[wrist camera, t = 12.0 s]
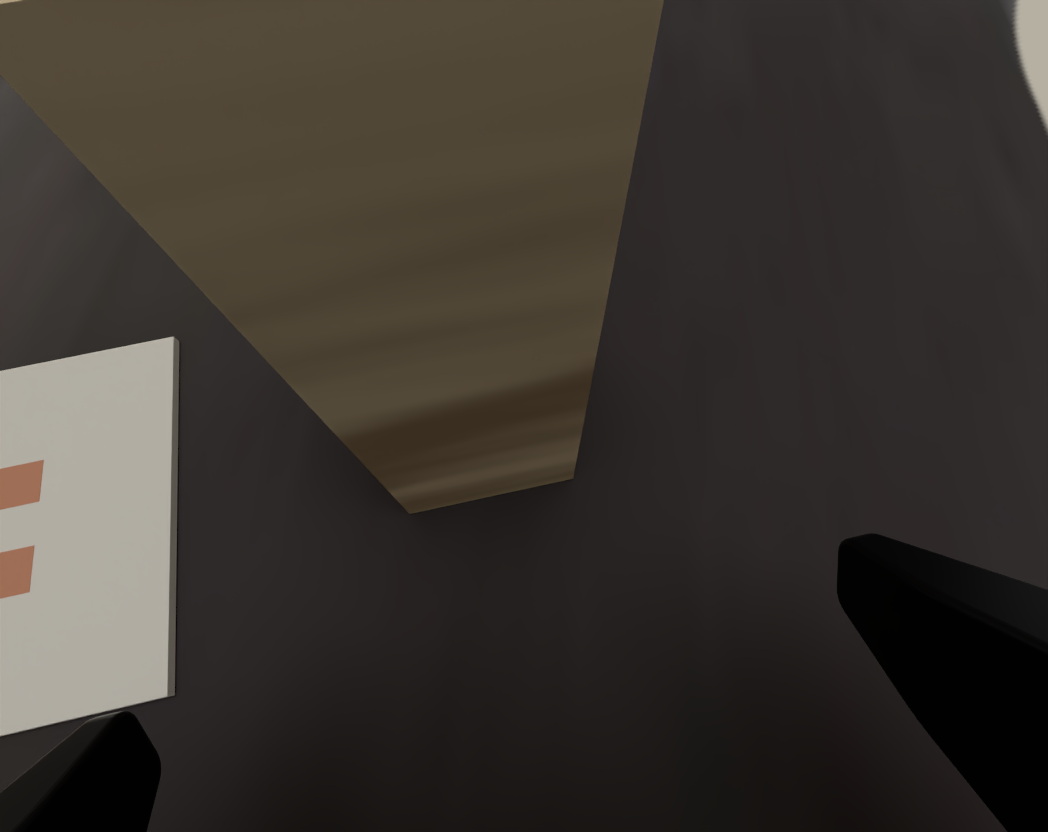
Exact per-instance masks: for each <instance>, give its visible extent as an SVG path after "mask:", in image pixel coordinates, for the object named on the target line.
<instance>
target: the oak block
mask: <svg viewBox="0 0 1048 832" xmlns="http://www.w3.org/2000/svg"><path fill="white" fill-rule="evenodd" d="M663 1H664V0H0V75H1V76H2V77H3V78H4V80H5V81H6V82H7V83H8V84H9V85H10V86H11V87H12V88H13V89H14V90H15V91H16V92H17V93H18V95H19V96H20V97H21V98H22V99H23V100H24V101H25V102H26V103H27V104H28V105H29V106H30V107H31V108H32V110H33V111H34V112H35V113H36V114H37V115H38V116H39V117H40V118H41V119H42V120H43V121H44V122H45V123H46V125H47V126H48V127H49V128H50V129H51V130H52V131H53V132H54V133H55V134H56V135H57V136H58V137H59V139H60V140H61V141H62V142H63V143H64V144H65V145H66V146H67V147H68V148H69V149H70V150H71V151H72V152H73V154H74V155H75V156H76V157H77V158H78V159H79V160H80V161H81V162H82V163H83V164H84V165H85V166H86V167H87V169H88V170H89V171H90V172H91V173H92V174H93V175H94V176H95V177H96V178H97V179H98V180H99V181H100V182H101V184H102V185H103V186H104V187H105V188H106V189H107V190H108V191H109V192H110V193H111V194H112V195H113V196H114V197H115V199H116V200H117V201H118V202H119V203H120V204H121V205H122V206H123V207H124V208H125V209H126V210H127V211H128V213H129V214H130V215H131V216H132V217H133V218H134V219H135V220H136V221H137V222H138V223H139V224H140V225H141V226H142V228H143V229H144V230H145V231H146V232H147V233H148V234H149V235H150V236H151V237H152V238H153V239H154V240H155V241H156V243H157V244H158V245H159V246H160V247H161V248H162V249H163V250H164V251H165V252H166V253H167V254H168V255H169V256H170V258H171V259H172V260H173V261H174V262H175V263H176V264H177V265H178V266H179V267H180V268H181V269H182V270H183V271H184V273H185V274H186V275H187V276H188V277H189V278H190V279H191V280H192V281H193V282H194V283H195V284H196V285H197V287H198V288H199V289H200V290H201V291H202V292H203V293H204V294H205V295H206V296H207V297H208V298H209V299H210V300H211V302H212V303H213V304H214V305H215V306H216V307H217V308H218V309H219V310H220V311H221V312H222V313H223V314H224V315H225V317H226V318H227V319H228V320H229V321H230V322H231V323H232V324H233V325H234V326H235V327H236V328H237V329H238V330H239V332H240V333H241V334H242V335H243V336H244V337H245V338H246V339H247V340H248V341H249V342H250V343H251V344H252V345H253V347H254V348H255V349H256V350H257V351H258V352H259V353H260V354H261V355H262V356H263V357H264V358H265V359H266V361H267V362H268V363H269V364H270V365H271V366H272V367H273V368H274V369H275V370H276V371H277V372H278V373H279V374H280V376H281V377H282V378H283V379H284V380H285V381H286V382H287V383H288V384H289V385H290V386H291V387H292V388H293V389H294V391H295V392H296V393H297V394H298V395H299V396H300V397H301V398H302V399H303V400H304V401H305V402H306V403H307V404H308V406H309V407H310V408H311V409H312V410H313V411H314V412H315V413H316V414H317V415H318V416H319V417H320V418H321V419H322V421H323V422H324V423H325V424H326V425H327V426H328V427H329V428H330V429H331V430H332V431H333V432H334V433H335V435H336V436H337V437H338V438H339V439H340V440H341V441H342V442H343V443H344V444H345V445H346V446H347V447H348V448H349V450H350V451H351V452H352V453H353V454H354V455H355V456H356V457H357V458H358V459H359V460H360V461H361V462H362V463H363V465H364V466H365V467H366V468H367V469H368V470H369V471H370V472H371V473H372V474H373V475H374V476H375V477H376V478H377V480H378V481H379V482H380V483H381V484H382V485H383V486H384V487H385V488H386V489H387V490H388V491H389V492H390V493H391V495H392V496H393V497H394V498H395V499H396V500H397V501H398V502H399V503H400V504H401V505H402V506H403V507H404V509H405V510H406V511H407V512H408V513H409V514H412V513H417V512H421V511H426V510H431V509H435V508H440V507H445V506H449V505H454V504H458V503H463V502H468V501H472V500H477V499H482V498H486V497H491V496H495V495H500V494H505V493H509V492H514V491H518V490H523V489H528V488H532V487H537V486H542V485H546V484H551V483H555V482H560V481H565V480H569V479H573V476H574V471H575V466H576V460H577V455H578V450H579V445H580V439H581V434H582V429H583V424H584V418H585V413H586V408H587V402H588V397H589V392H590V387H591V381H592V376H593V371H594V365H595V360H596V355H597V350H598V344H599V339H600V334H601V328H602V323H603V318H604V313H605V307H606V302H607V297H608V292H609V286H610V281H611V276H612V270H613V265H614V260H615V255H616V249H617V244H618V239H619V233H620V228H621V223H622V218H623V212H624V207H625V202H626V196H627V191H628V186H629V181H630V175H631V170H632V165H633V160H634V154H635V149H636V144H637V138H638V133H639V128H640V123H641V117H642V112H643V107H644V101H645V96H646V91H647V86H648V80H649V75H650V70H651V64H652V59H653V54H654V49H655V43H656V38H657V33H658V27H659V22H660V17H661V12H662V6H663Z"/></svg>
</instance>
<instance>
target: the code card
mask: <svg viewBox="0 0 1048 832" xmlns="http://www.w3.org/2000/svg"><path fill="white" fill-rule="evenodd" d="M178 409H179V341H178V340H177V339H176V338H175V337H169V338H164V339H159V340H154V341H149V342H144V343H139V344H134V345H129V346H124V347H119V348H114V349H109V350H104V351H99V352H94V353H89V354H84V355H79V356H74V357H69V358H64V359H59V360H54V361H49V362H44V363H39V364H34V365H29V366H24V367H18V368H13V369H8V370H3V371H0V737H1V736H6V735H10V734H14V733H18V732H23V731H27V730H31V729H35V728H39V727H44V726H48V725H52V724H56V723H61V722H65V721H69V720H73V719H78V718H82V717H86V716H90V715H94V714H99V713H103V712H107V711H111V710H116V709H120V708H124V707H128V706H133V705H137V704H141V703H145V702H149V701H154V700H158V699H162V698H166V697H171V696H175V641H176V564H177V486H178Z"/></svg>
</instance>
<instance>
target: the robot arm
mask: <svg viewBox="0 0 1048 832" xmlns="http://www.w3.org/2000/svg"><path fill="white" fill-rule="evenodd" d="M837 594H838V599H839V602H840V604H841V606H842V608H843V610H844V612H845V613H846V615H847V616H848V618H849V619H850V621H851V622H852V624H853V625H854V627H855V628H856V630H857V631H858V632H859V634H860V635H861V637H862V638H863V640H864V641H865V643H866V644H867V646H868V647H869V649H870V650H871V652H872V653H873V655H874V656H875V658H876V659H877V661H878V662H879V664H880V665H881V667H882V668H883V670H884V671H885V673H886V674H887V676H888V677H889V679H890V680H891V682H892V683H893V685H894V686H895V688H896V689H897V691H898V692H899V694H900V695H901V697H902V698H903V700H904V701H905V703H906V704H907V705H908V707H909V708H910V710H911V711H912V713H913V714H914V715H915V717H916V718H917V720H918V721H919V722H920V723H921V725H922V726H923V727H924V729H925V730H926V731H927V732H928V734H929V735H930V736H931V738H932V739H933V740H934V741H935V743H936V744H937V745H938V746H939V747H940V749H941V750H942V751H943V752H944V754H945V755H946V756H947V757H948V759H949V760H950V761H951V762H952V764H953V765H954V766H955V767H956V768H957V770H958V771H959V772H960V773H961V775H962V776H963V777H964V778H965V780H966V781H967V782H968V783H969V785H970V786H971V787H972V788H973V790H974V791H975V792H976V793H977V794H978V796H979V797H980V798H981V799H982V801H983V802H984V803H985V804H986V806H987V807H988V808H989V809H990V811H991V812H992V813H993V814H994V815H995V817H996V818H997V819H998V820H999V822H1000V823H1001V824H1002V825H1003V827H1004V828H1005V829H1006V830H1007V832H1048V590H1047V589H1044V588H1041V587H1038V586H1035V585H1032V584H1029V583H1025V582H1022V581H1019V580H1016V579H1013V578H1010V577H1007V576H1004V575H1001V574H998V573H995V572H992V571H989V570H986V569H983V568H980V567H977V566H973V565H970V564H967V563H964V562H961V561H958V560H955V559H952V558H949V557H946V556H943V555H940V554H937V553H934V552H931V551H928V550H925V549H921V548H918V547H915V546H912V545H909V544H906V543H903V542H900V541H897V540H894V539H891V538H888V537H885V536H882V535H879V534H873V533H871V534H865V535H860V536H856V537H852V538H848V539H845V540H844V541H842V542H841V544H840V546H839V550H838V572H837ZM160 776H161V762H160V758H159V755H158V753H157V751H156V749H155V748H154V746H153V744H152V743H151V741H150V739H149V738H148V736H147V734H146V733H145V731H144V729H143V728H142V726H141V724H140V723H139V721H138V719H137V718H136V716H135V715H134V714H132V713H130V712H128V711H120V712H115V713H111V714H107V715H103V716H99V717H95V718H92V719H90V720H88V721H86V722H85V723H84V724H82V725H81V726H80V727H79V728H78V729H76V730H75V731H74V732H73V733H71V734H70V735H69V736H68V737H67V738H65V739H64V740H63V741H62V742H60V743H59V744H58V745H57V746H56V747H54V748H53V749H52V750H51V751H50V752H48V753H47V754H46V755H45V756H43V757H42V758H41V759H40V760H39V761H37V762H36V763H35V764H34V765H32V766H31V767H30V768H29V769H28V770H26V771H25V772H24V773H23V774H22V775H20V776H19V777H18V778H17V779H15V780H14V781H13V782H12V783H11V784H9V785H8V786H7V787H6V788H4V789H3V790H2V791H1V792H0V832H147V828H148V824H149V820H150V816H151V812H152V808H153V804H154V801H155V797H156V793H157V789H158V785H159V781H160Z"/></svg>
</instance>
